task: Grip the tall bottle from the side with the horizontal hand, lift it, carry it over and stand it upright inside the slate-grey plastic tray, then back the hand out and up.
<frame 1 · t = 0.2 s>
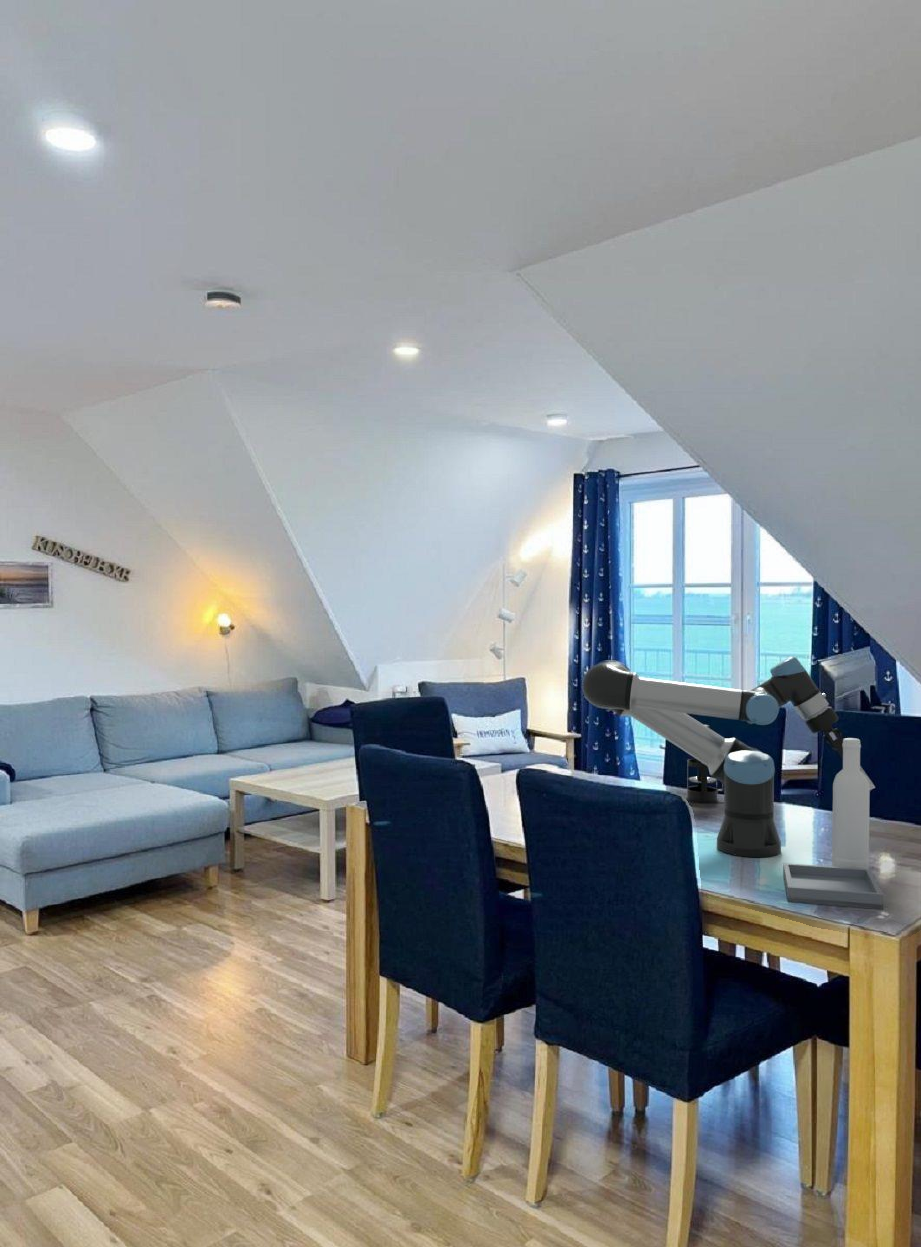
hand: (866, 785, 238), 15 cm above the table, tool tilted 35°, fingers open, 13 cm apart
french press: (703, 800, 289), on the table
bottle: (850, 871, 216), on the table
tray: (830, 892, 201), on the table
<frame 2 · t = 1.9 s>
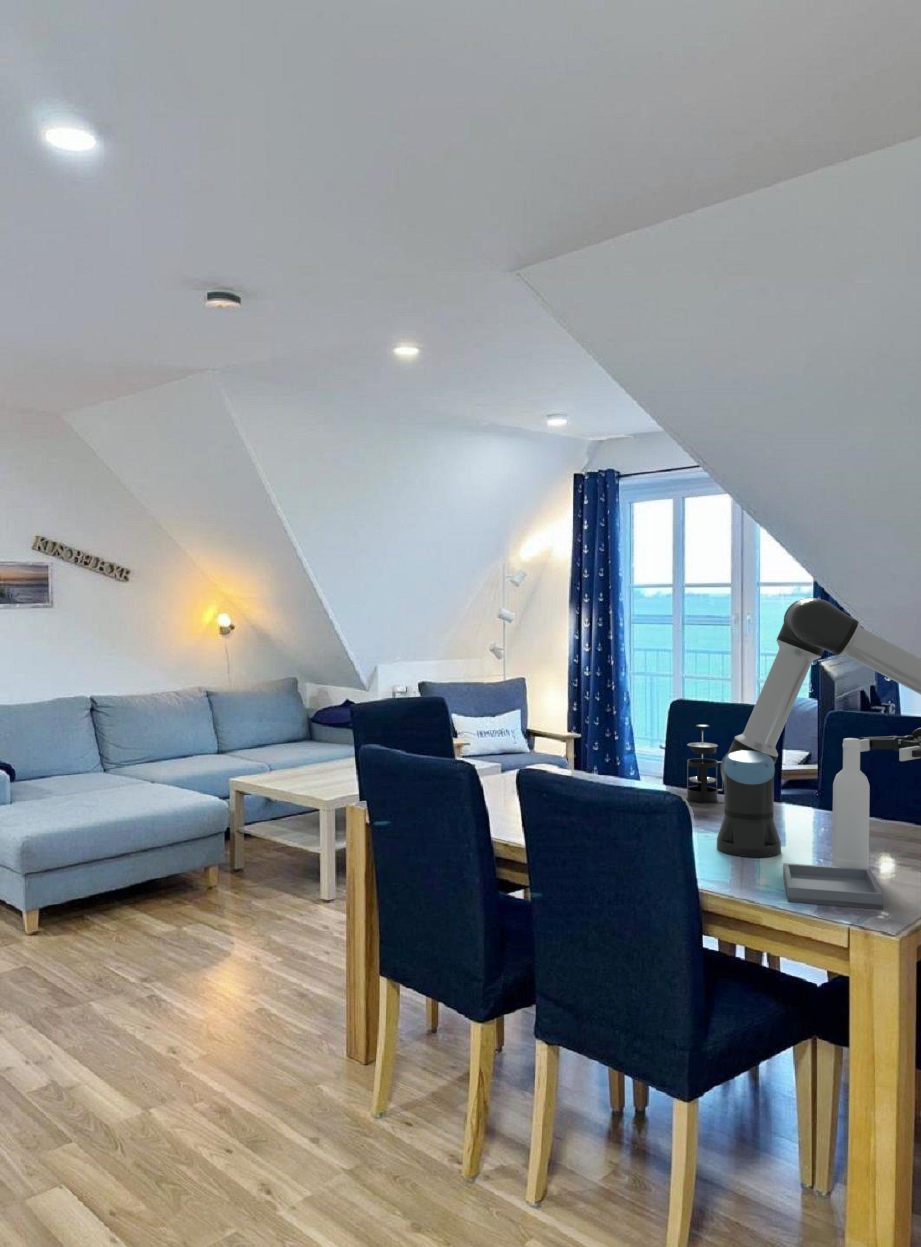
hand: (874, 751, 220), 26 cm above the table, tool horizontal, fingers open, 13 cm apart
nothing on the table moved.
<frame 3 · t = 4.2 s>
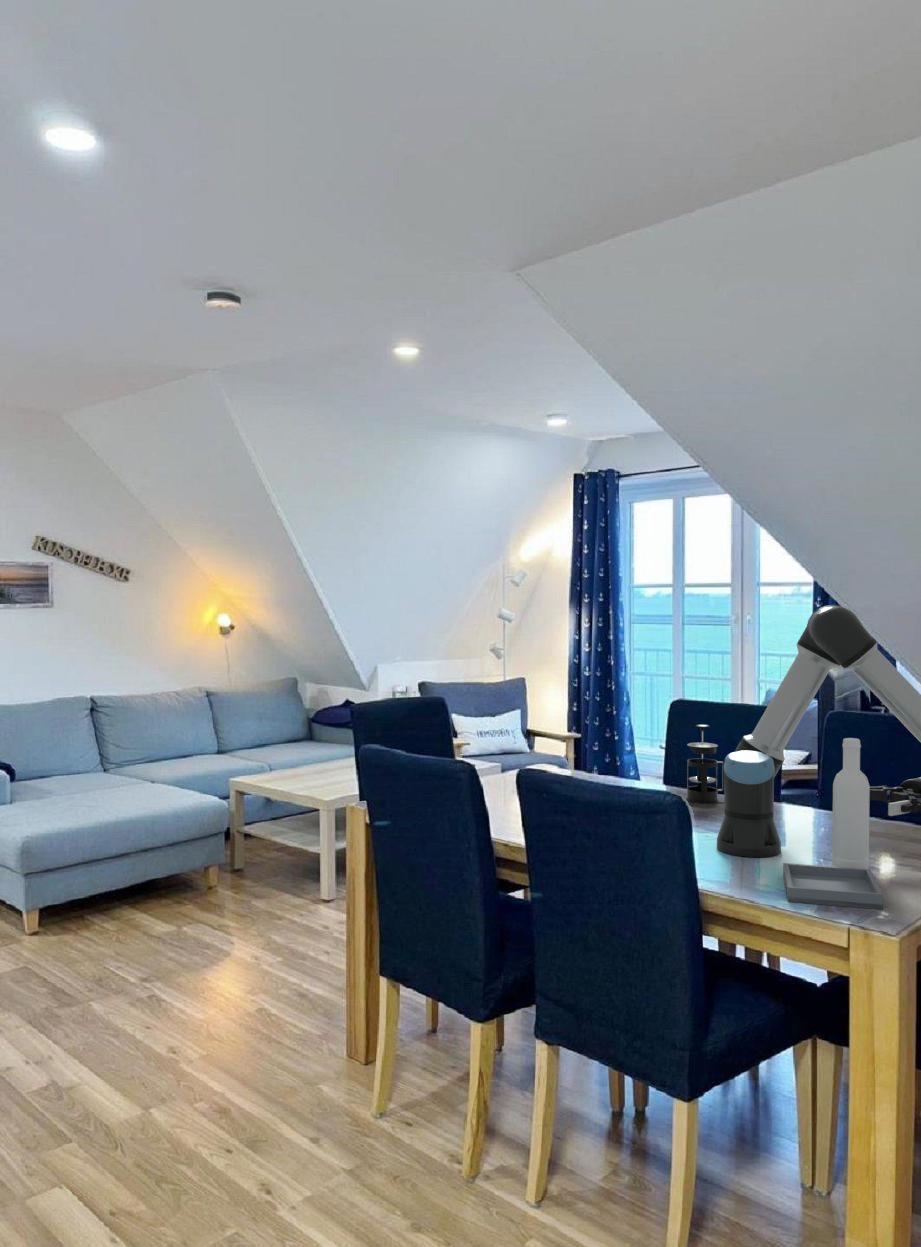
hand: (863, 803, 217), 15 cm above the table, tool horizontal, fingers open, 13 cm apart
nothing on the table moved.
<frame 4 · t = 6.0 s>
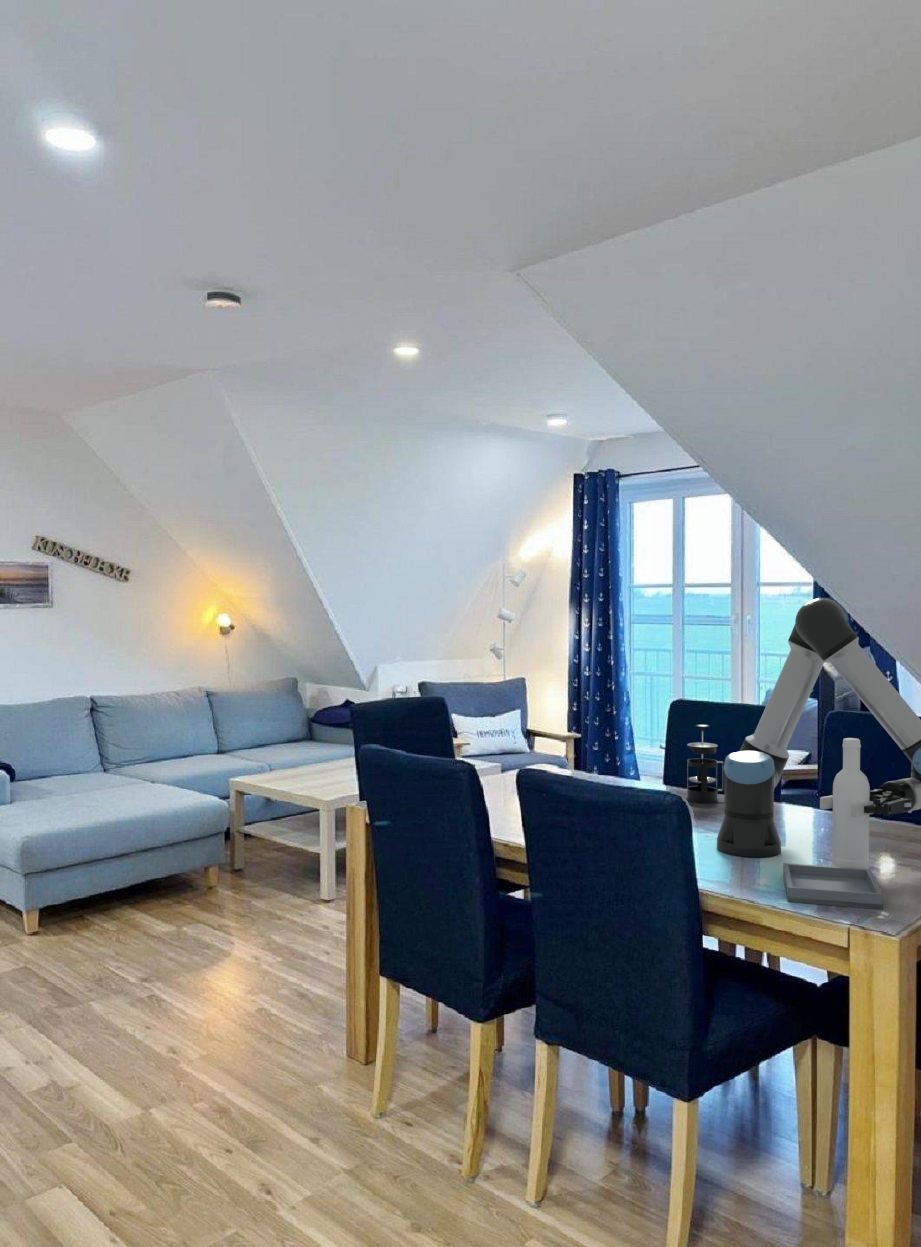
hand: (836, 807, 214), 15 cm above the table, tool horizontal, fingers closed on bottle, 8 cm apart
bottle: (850, 870, 216), on the table, touching gripper
everything else where it was.
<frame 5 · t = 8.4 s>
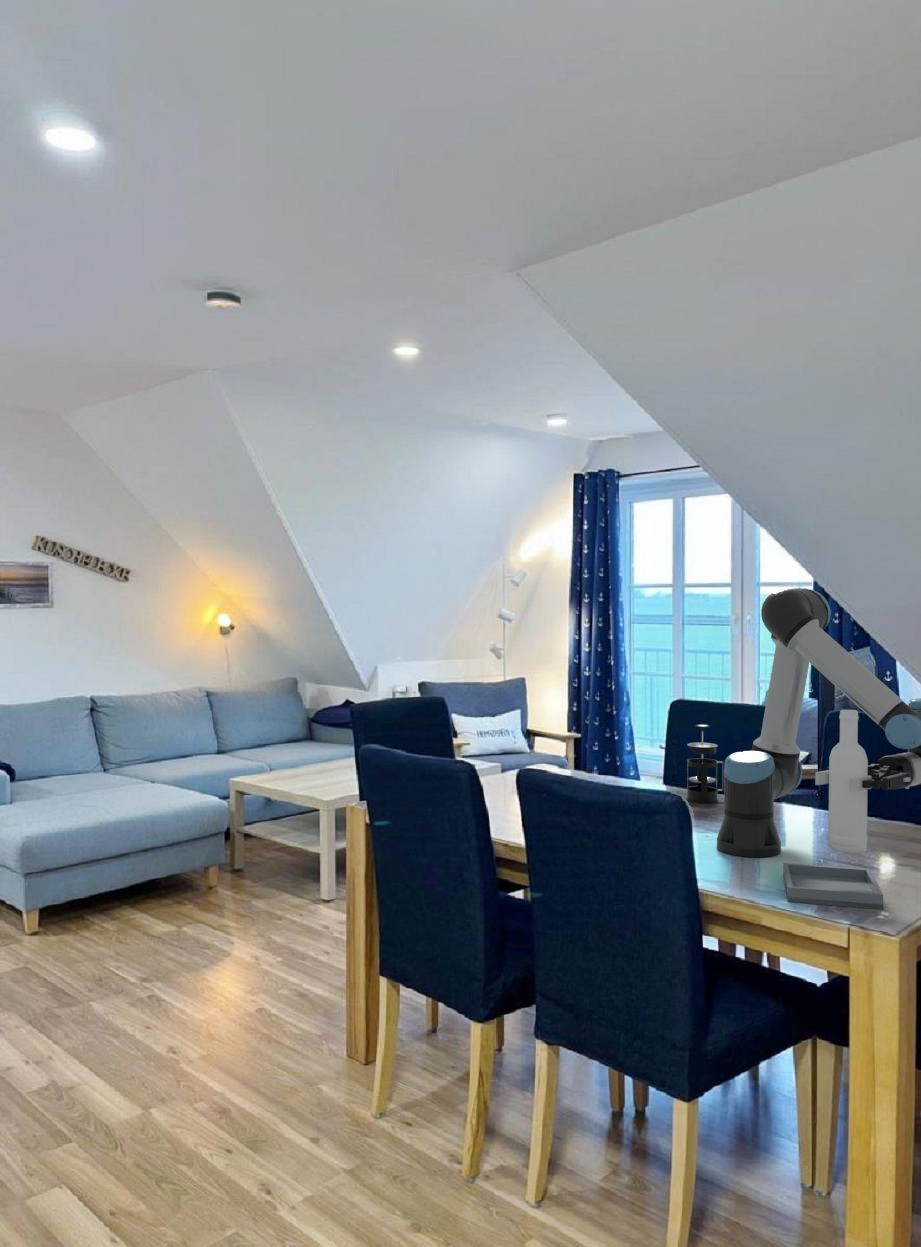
hand: (833, 782, 203), 23 cm above the table, tool horizontal, fingers closed on bottle, 8 cm apart
bottle: (847, 849, 206), point 8 cm above the table, touching gripper
everything else where it was.
when the fingers open (16 cm above the table, at t = 11.0 s): bottle stays where it is, resting on tray.
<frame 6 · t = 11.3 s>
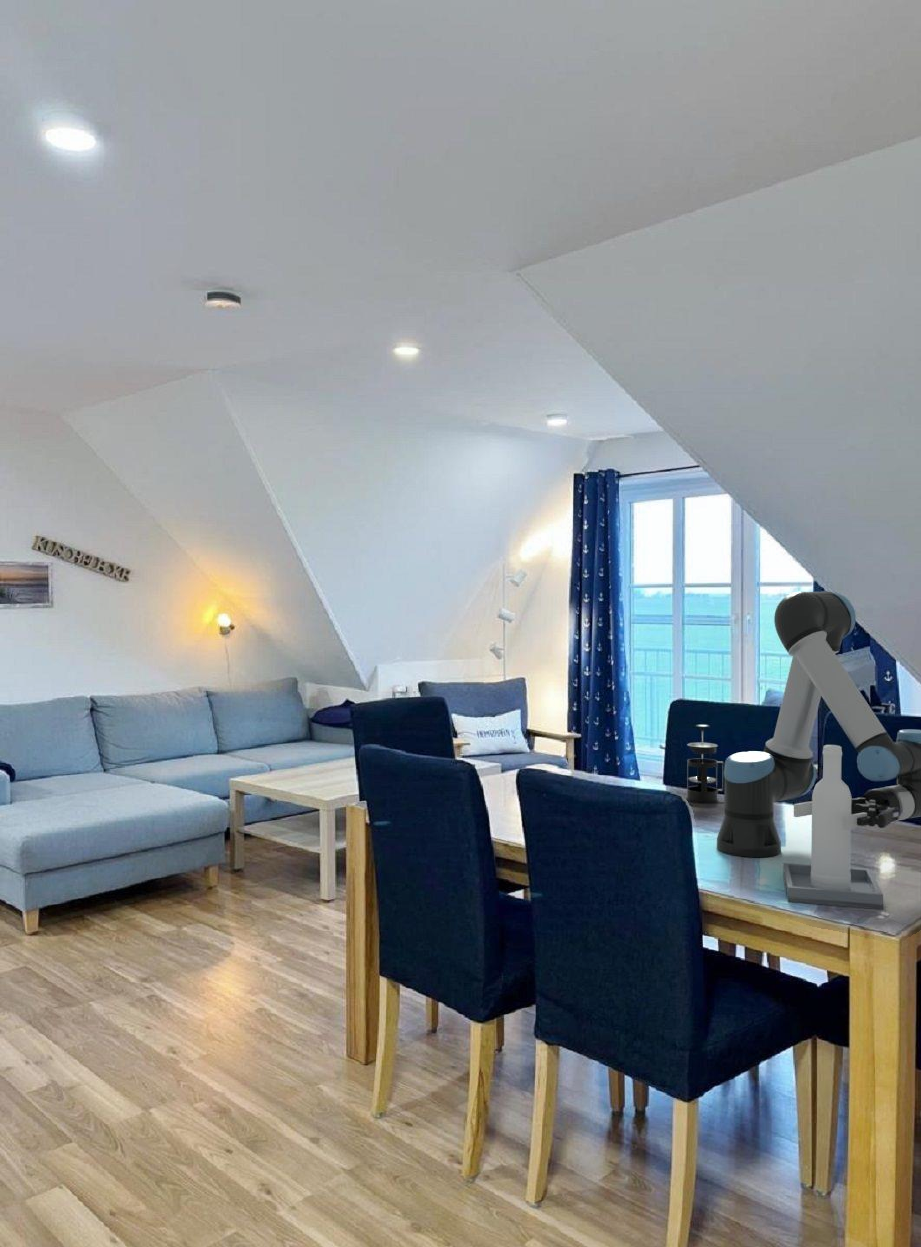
hand: (818, 816, 198), 16 cm above the table, tool horizontal, fingers open, 12 cm apart
bottle: (830, 888, 201), point 1 cm above the table, touching tray
everything else where it was.
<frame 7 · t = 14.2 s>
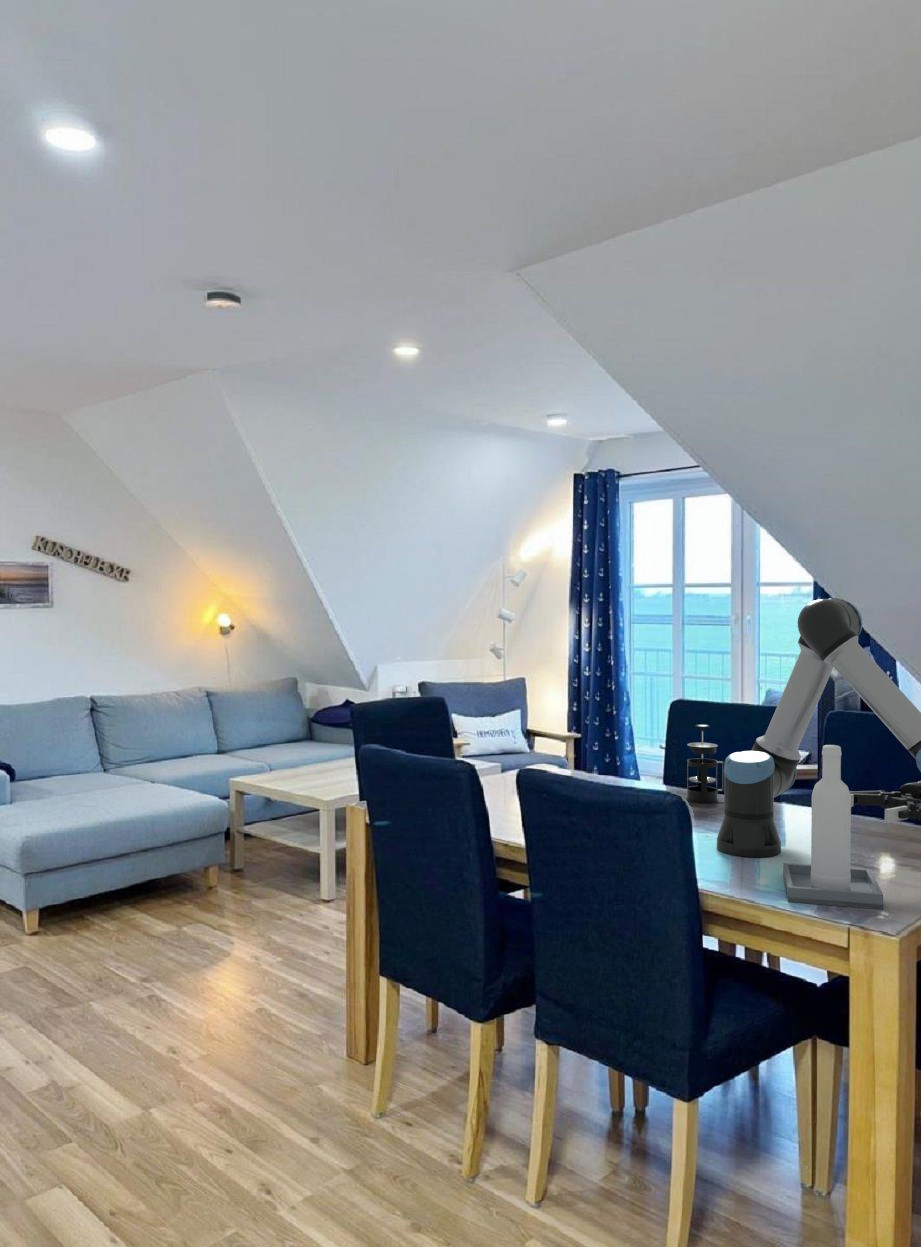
hand: (858, 809, 205), 17 cm above the table, tool horizontal, fingers open, 13 cm apart
nothing on the table moved.
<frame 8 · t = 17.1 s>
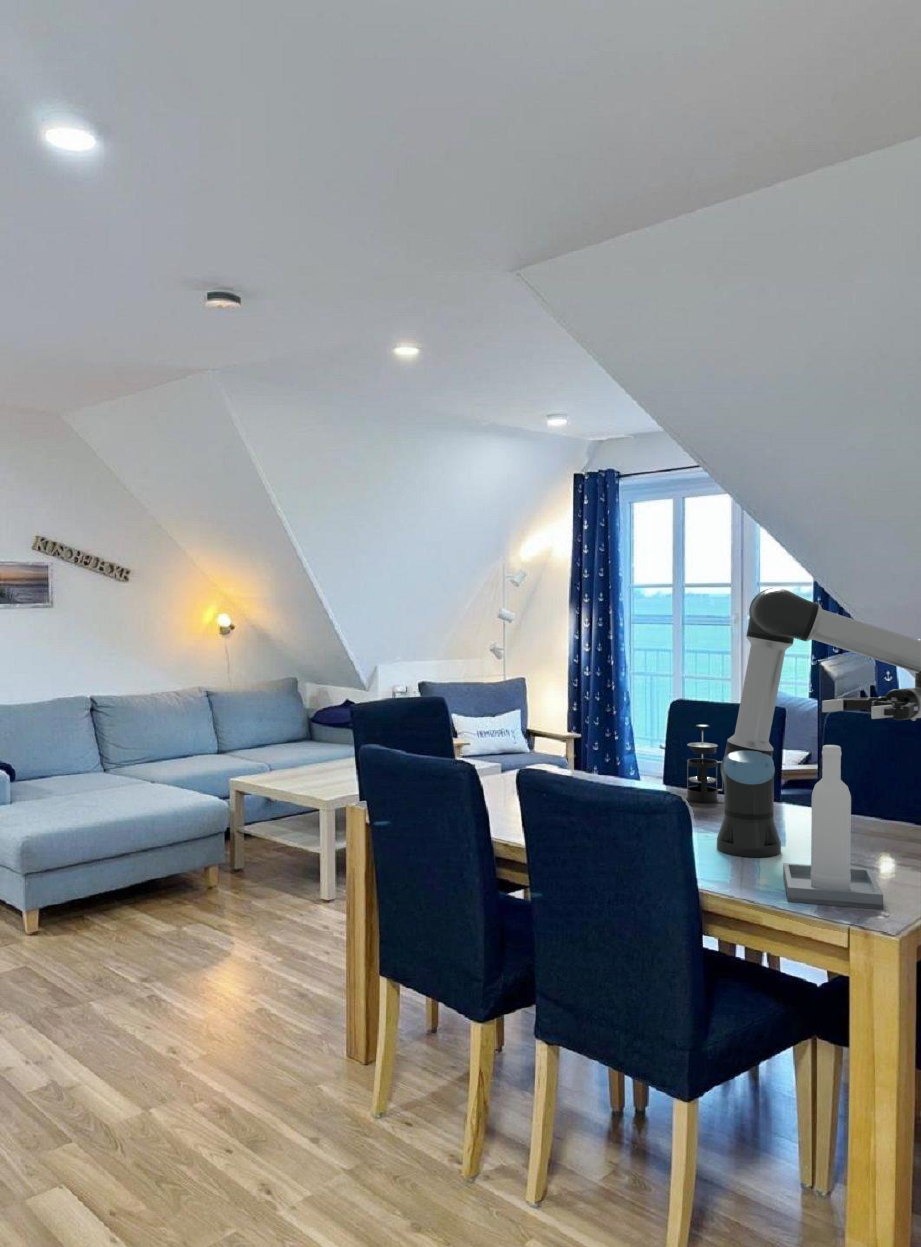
hand: (847, 709, 221), 36 cm above the table, tool horizontal, fingers open, 13 cm apart
nothing on the table moved.
at the end: bottle inside the target area on the tray (0.0 cm from its centre), point 0.8 cm above the tray's base; bottle tilted 0°; the gripper is holding nothing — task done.
